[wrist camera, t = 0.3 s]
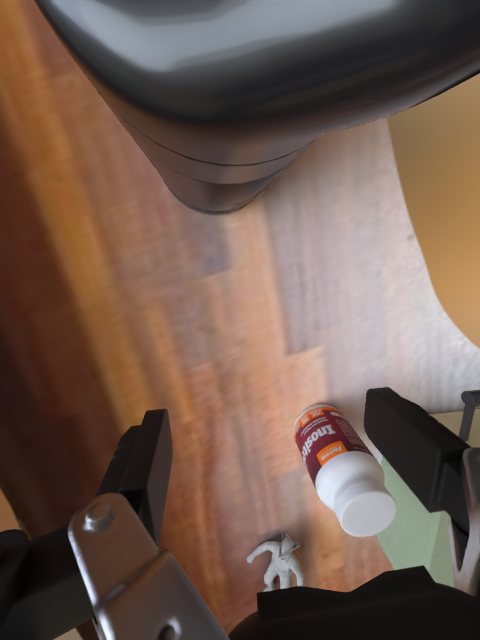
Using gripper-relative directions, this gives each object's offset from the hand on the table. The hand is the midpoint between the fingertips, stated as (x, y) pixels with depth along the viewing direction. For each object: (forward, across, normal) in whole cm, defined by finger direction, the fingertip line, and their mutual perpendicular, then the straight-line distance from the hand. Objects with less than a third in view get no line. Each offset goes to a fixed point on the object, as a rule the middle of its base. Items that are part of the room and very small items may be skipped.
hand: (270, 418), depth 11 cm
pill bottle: (+17, -9, +14) cm, 24 cm away
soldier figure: (+18, -4, +34) cm, 39 cm away
